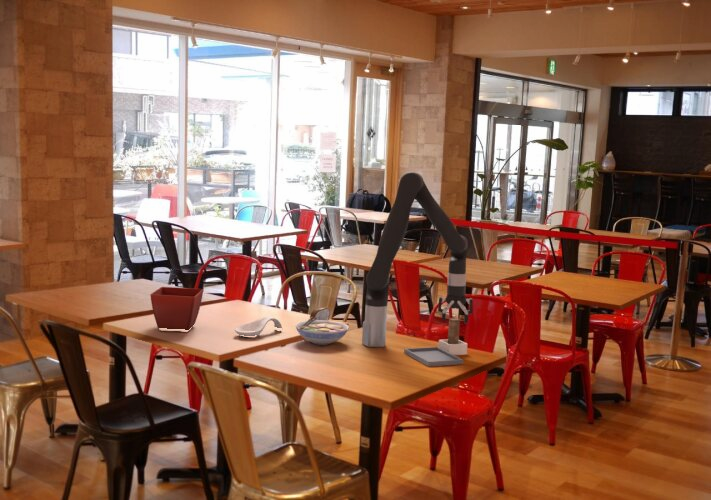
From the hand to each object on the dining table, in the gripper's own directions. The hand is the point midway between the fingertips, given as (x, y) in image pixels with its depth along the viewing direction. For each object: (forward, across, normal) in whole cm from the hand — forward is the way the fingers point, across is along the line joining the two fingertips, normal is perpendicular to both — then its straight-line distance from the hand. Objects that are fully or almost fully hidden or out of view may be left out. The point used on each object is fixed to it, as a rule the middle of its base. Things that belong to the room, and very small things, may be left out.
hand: (454, 322), depth 332 cm
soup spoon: (+12, +62, -33) cm, 71 cm away
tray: (+12, +8, +13) cm, 20 cm away
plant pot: (+11, +121, -5) cm, 121 cm away
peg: (+13, 0, 0) cm, 13 cm away
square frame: (+13, 0, 0) cm, 13 cm away
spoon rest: (+12, +84, -6) cm, 85 cm away
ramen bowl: (+12, +55, +1) cm, 57 cm away
